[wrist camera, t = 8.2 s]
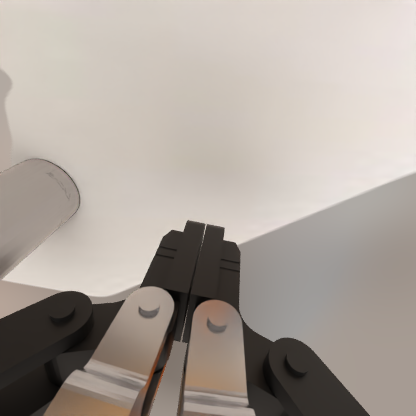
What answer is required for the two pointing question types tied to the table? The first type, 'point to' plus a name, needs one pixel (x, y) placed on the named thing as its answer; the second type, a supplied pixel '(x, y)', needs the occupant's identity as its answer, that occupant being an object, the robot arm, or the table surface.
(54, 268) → the table surface
